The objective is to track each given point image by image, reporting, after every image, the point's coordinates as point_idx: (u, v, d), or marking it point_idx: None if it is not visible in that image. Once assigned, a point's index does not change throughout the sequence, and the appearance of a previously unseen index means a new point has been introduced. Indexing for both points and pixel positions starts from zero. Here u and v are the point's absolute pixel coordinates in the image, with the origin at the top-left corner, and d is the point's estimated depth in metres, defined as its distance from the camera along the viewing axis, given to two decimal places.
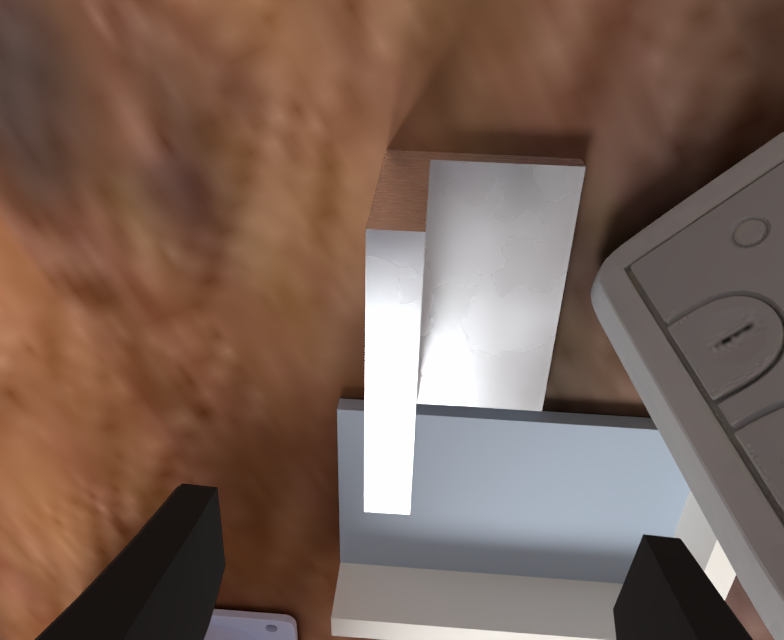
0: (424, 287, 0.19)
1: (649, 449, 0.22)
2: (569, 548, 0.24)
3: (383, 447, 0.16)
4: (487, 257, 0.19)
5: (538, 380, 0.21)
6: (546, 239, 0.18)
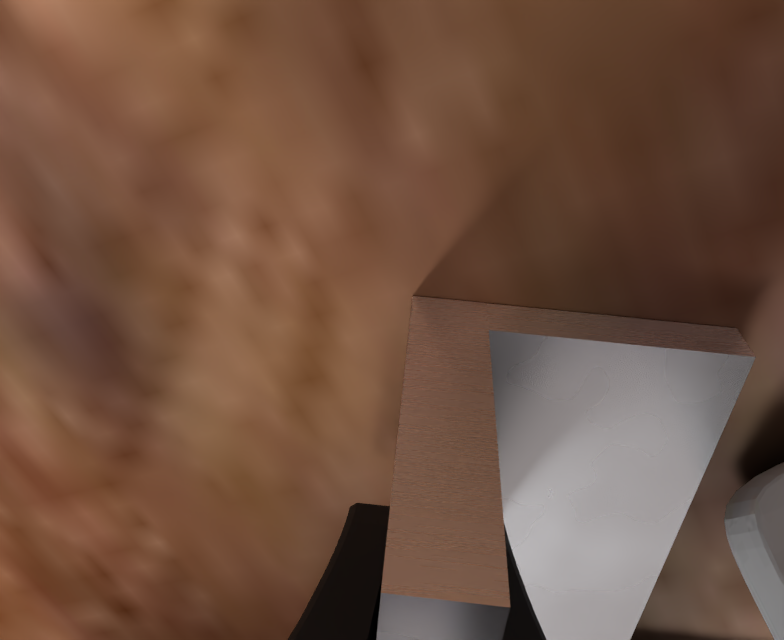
0: None
1: None
2: None
3: None
4: (566, 471, 0.12)
5: (621, 625, 0.14)
6: (667, 453, 0.11)
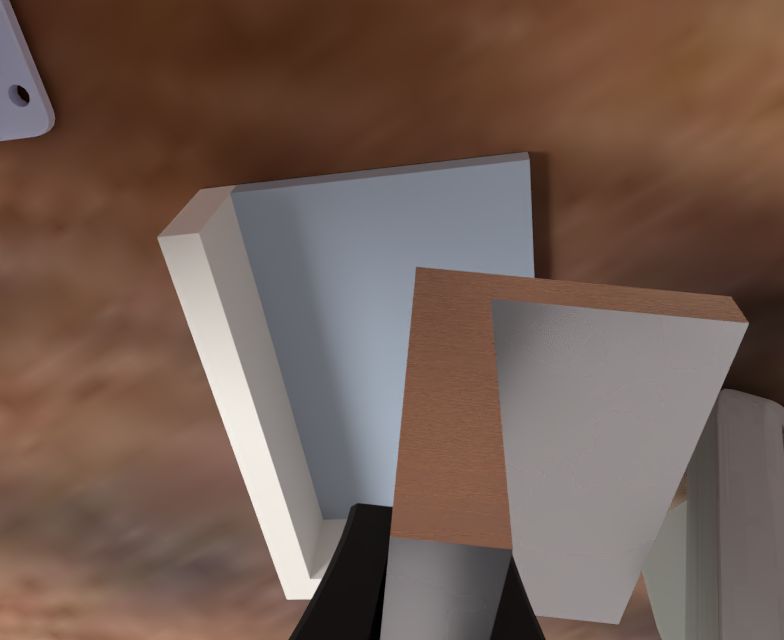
0: None
1: None
2: (353, 441, 0.21)
3: None
4: (566, 437, 0.12)
5: (619, 589, 0.14)
6: (664, 419, 0.11)
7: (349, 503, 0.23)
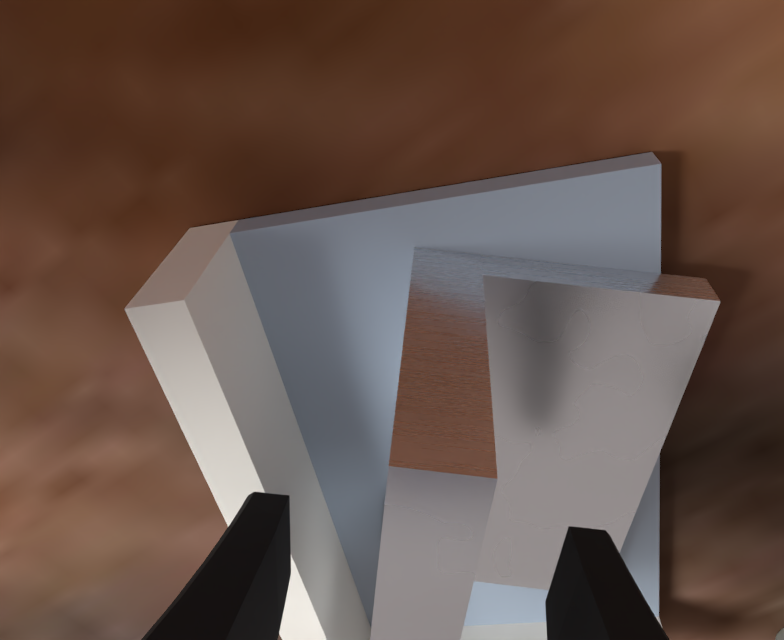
0: None
1: None
2: None
3: None
4: (552, 409, 0.13)
5: None
6: (643, 392, 0.12)
7: None
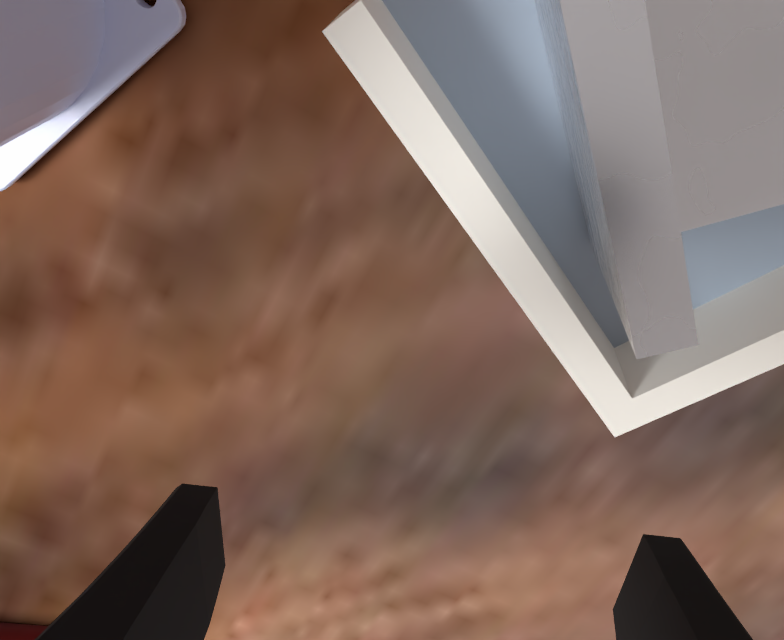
0: None
1: None
2: None
3: (641, 259, 0.12)
4: (685, 6, 0.14)
5: None
6: None
7: None
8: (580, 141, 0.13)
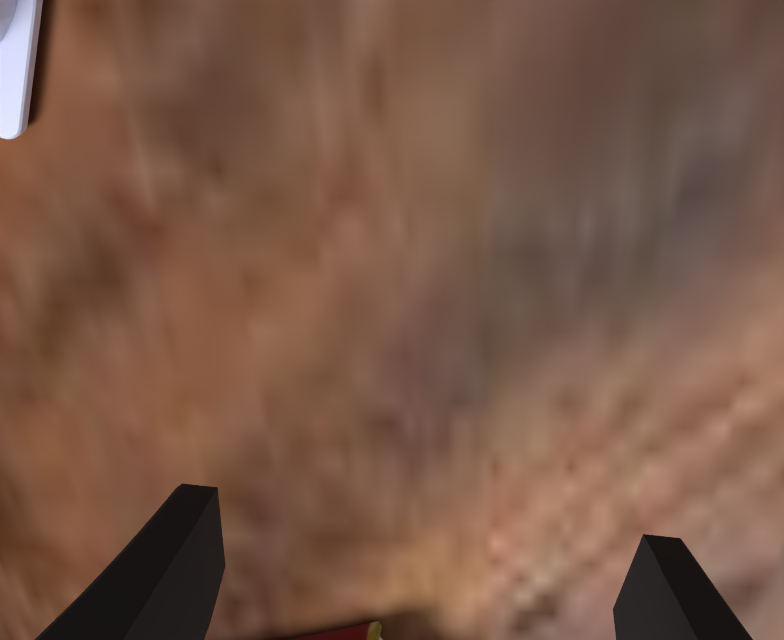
0: None
1: None
2: None
3: None
4: None
5: None
6: None
7: None
8: None
